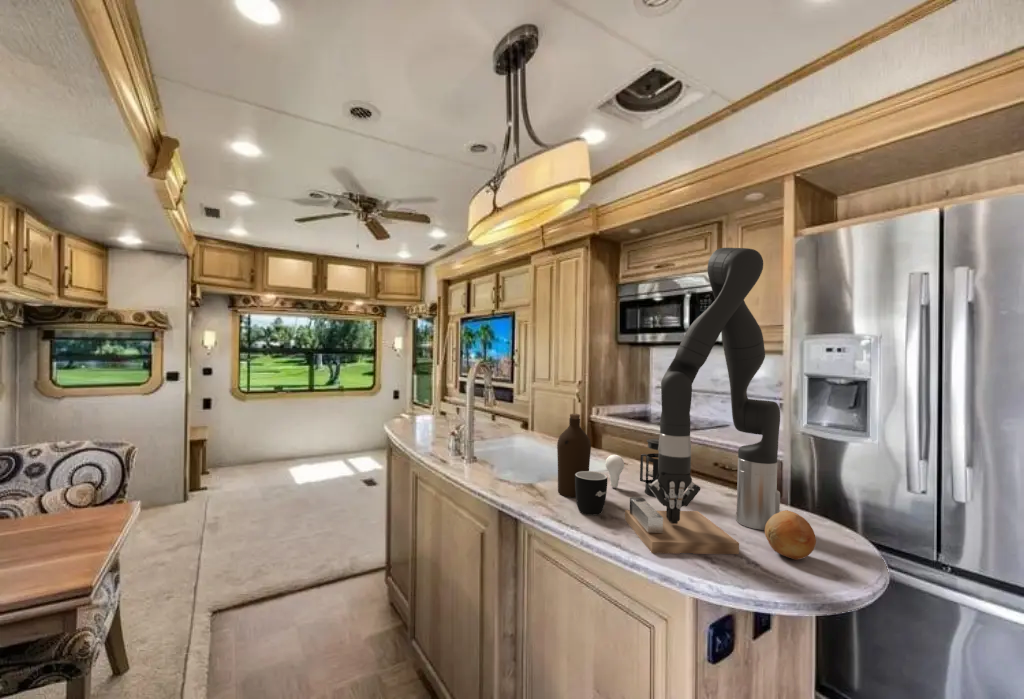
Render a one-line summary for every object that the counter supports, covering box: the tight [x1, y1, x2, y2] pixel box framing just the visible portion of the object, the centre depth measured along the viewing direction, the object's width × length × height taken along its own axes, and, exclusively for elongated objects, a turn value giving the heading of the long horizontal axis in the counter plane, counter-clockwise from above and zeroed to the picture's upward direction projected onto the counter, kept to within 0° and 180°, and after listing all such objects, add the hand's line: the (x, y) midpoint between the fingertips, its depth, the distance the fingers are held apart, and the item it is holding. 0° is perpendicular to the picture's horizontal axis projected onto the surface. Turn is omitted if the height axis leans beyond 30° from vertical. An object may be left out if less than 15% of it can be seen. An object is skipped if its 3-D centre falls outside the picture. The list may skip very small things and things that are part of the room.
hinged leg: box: [628, 496, 663, 533], centre depth 111 cm, size 15×4×4 cm, turn 2°
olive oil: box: [556, 413, 592, 498], centre depth 140 cm, size 11×11×25 cm
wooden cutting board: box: [624, 509, 740, 555], centre depth 109 cm, size 20×20×2 cm
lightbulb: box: [605, 454, 625, 489], centre depth 147 cm, size 6×6×11 cm
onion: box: [764, 509, 817, 561], centre depth 99 cm, size 10×10×10 cm
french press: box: [639, 421, 666, 499], centre depth 143 cm, size 12×9×23 cm
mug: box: [575, 470, 608, 516], centre depth 125 cm, size 12×9×10 cm
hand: (673, 522), depth 109 cm, fingers closed
